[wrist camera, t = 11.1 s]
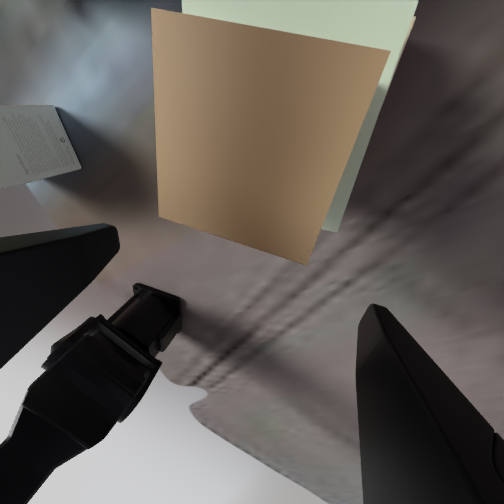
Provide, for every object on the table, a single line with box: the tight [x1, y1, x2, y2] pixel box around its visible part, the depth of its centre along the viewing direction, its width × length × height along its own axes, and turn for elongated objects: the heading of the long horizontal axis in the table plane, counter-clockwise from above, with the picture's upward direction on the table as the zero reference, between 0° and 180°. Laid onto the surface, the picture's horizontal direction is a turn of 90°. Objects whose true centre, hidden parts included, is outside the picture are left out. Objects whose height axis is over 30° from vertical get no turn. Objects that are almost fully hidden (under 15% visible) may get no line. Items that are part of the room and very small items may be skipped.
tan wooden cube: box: [151, 8, 391, 266], centre depth 8 cm, size 5×5×5 cm
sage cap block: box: [182, 0, 418, 233], centre depth 12 cm, size 8×8×4 cm
